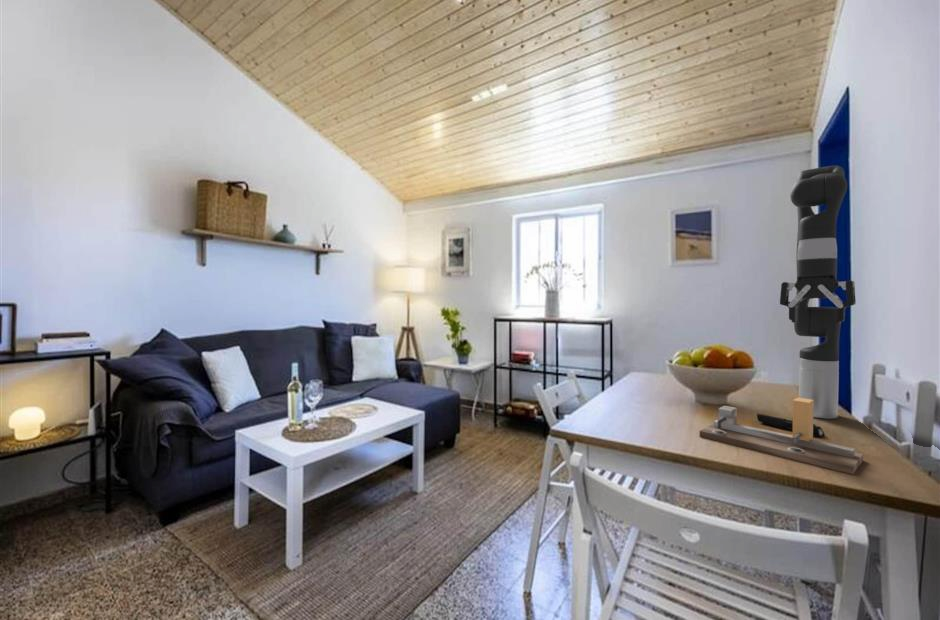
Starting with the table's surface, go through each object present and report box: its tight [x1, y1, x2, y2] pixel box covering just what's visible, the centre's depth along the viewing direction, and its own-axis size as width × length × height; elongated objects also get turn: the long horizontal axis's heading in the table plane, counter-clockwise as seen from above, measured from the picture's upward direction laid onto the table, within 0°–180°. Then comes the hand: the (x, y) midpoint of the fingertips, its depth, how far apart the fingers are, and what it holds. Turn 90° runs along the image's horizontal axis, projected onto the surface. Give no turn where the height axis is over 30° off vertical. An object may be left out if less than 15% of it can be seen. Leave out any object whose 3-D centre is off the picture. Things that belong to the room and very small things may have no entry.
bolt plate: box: [699, 405, 864, 475], centre depth 100 cm, size 11×30×7 cm, turn 39°
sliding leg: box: [791, 397, 814, 446], centre depth 96 cm, size 8×3×10 cm, turn 129°
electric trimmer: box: [756, 413, 826, 439], centre depth 113 cm, size 4×15×3 cm, turn 31°
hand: (815, 322), depth 102 cm, fingers open, 8 cm apart
